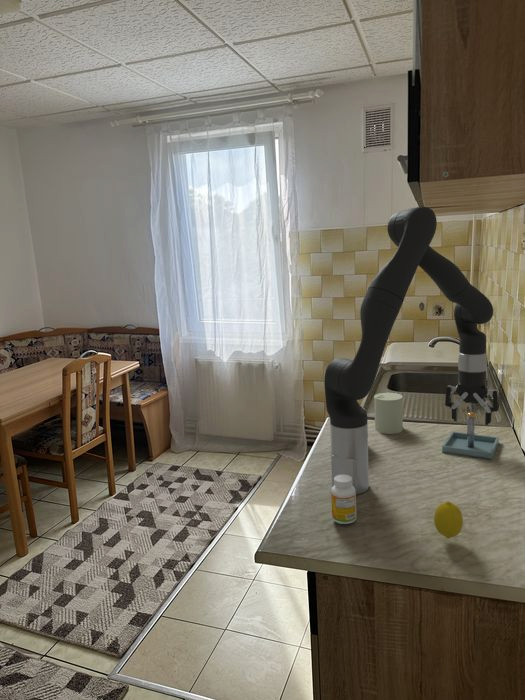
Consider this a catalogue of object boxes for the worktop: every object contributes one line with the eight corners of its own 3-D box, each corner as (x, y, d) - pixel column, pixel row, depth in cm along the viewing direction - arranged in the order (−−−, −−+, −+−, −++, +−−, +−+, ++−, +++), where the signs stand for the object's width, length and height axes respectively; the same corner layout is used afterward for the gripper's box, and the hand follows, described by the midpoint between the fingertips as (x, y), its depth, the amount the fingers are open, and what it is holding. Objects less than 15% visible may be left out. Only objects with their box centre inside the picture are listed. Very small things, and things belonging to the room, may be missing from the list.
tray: (491, 460, 140) (491, 453, 140) (442, 452, 147) (442, 446, 147) (498, 443, 151) (498, 437, 151) (452, 437, 158) (452, 431, 158)
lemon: (447, 528, 108) (447, 493, 107) (468, 540, 103) (469, 503, 102) (428, 535, 106) (428, 500, 104) (449, 548, 101) (449, 511, 99)
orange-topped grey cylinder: (473, 448, 148) (474, 414, 146) (466, 447, 149) (467, 414, 147) (474, 445, 150) (475, 412, 148) (467, 444, 151) (467, 412, 149)
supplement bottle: (335, 511, 118) (333, 471, 116) (358, 514, 116) (357, 474, 114) (329, 522, 113) (328, 482, 111) (353, 526, 111) (352, 484, 109)
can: (371, 426, 172) (370, 392, 170) (398, 424, 173) (397, 390, 171) (378, 435, 163) (378, 399, 161) (407, 433, 164) (406, 397, 162)
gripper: (443, 369, 145) (442, 423, 148) (497, 372, 138) (496, 429, 141) (449, 363, 152) (448, 415, 155) (501, 367, 144) (499, 421, 147)
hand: (471, 422), depth 148 cm, fingers open, 8 cm apart
